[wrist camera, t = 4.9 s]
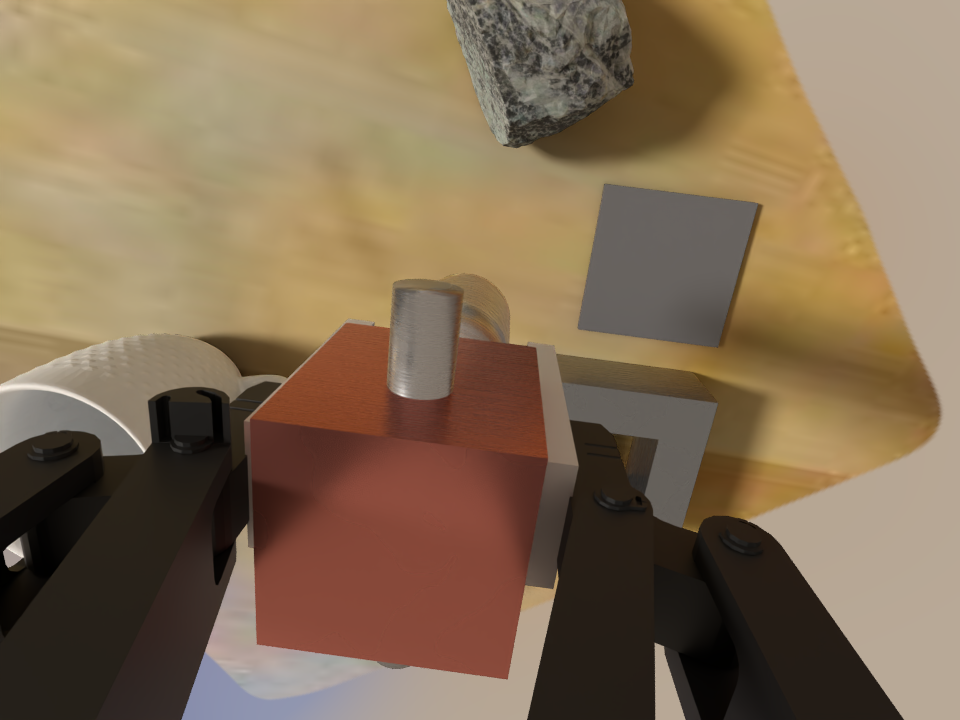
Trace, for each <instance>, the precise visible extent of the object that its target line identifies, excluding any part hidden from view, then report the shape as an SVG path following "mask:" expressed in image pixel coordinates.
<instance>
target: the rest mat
mask: <svg viewBox="0 0 960 720" xmlns="http://www.w3.org/2000/svg"><path fill="white" fill-rule="evenodd" d="M757 206H758V203H753V202H745V201H737V200H729V199H721V198H713V197H705V196H698V195H690V194H682V193H674V192H666V191H658V190H650V189H642V188H634V187H626V186H618V185H610V184H604V189H603V194H602V200H601V205H600V210H599V216H598V221H597V226H596V232H595V237H594V242H593V248H592V253H591V259H590V264H589V269H588V275H587V280H586V285H585V291H584V296H583V301H582V307H581V312H580V318H579V323H578V329H580V330H588V331H595V332H603V333H610V334H618V335H626V336H633V337H641V338H649V339H656V340H664V341H671V342H679V343H687V344H694V345H702V346H710V347H717V348H718V345H719V341H720V338H721V334H722V331H723V327H724V324H725V320H726V316H727V313H728V309H729V306H730V302H731V299H732V295H733V291H734V288H735V284H736V281H737V277H738V274H739V270H740V267H741V263H742V259H743V256H744V252H745V249H746V245H747V242H748V238H749V235H750V231H751V227H752V224H753V220H754V217H755V213H756V210H757Z"/></svg>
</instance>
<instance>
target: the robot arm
mask: <svg viewBox="0 0 960 720" xmlns="http://www.w3.org/2000/svg"><path fill="white" fill-rule="evenodd" d="M346 323H354V324H362V325H369V326H374V323H375V322H371V321H363V320H355V319H347V320H346V321H345V322H344V323H343V324H342V325H341V326H340V327H339V328H338V329H337V330H336V331H335V332H334V333H333V334H332V335H331V336H330V337H329V338H328V339H327V340H326V341H325V342H324V343H323V344H322V345H321V346H320V347H319V348H318V349H317V350H316V351H315V352H314V353H313V354H312V355H311V356H310V357H309V358H308V359H307V360H306V361H305V362H304V363H303V364H302V365H301V366H300V367H299V368H297V369H296V370H295V371H294V372H293V373H292V374H291V375H290V376H289V377H288V378H287V379H286V380H285V381H284V382H283V383H276V382H269V381H264V382H262V383H260V384H257V385H255V386H252V387H250V388H247V389H246V390H245V391H244V392H243V393H241V394H240V395H239V396H238V397H237V398H236V400H233V401H232V402H231V403H230V397H229V396H228V395H227V394H226V393H225V392H223V391H220V390H217V389H214V388H206V387H184V388H178V389H172V390H168V391H165V392H162V393H160V394H157V395H155V396H154V397H152V398H151V399H149V400H148V409H149V419H150V429H151V439H152V443H151V445H150V446H149V447H148V448H147V450H146V451H145V452H144V454H138V455H117V456H103V453H102V446H101V440H100V439H99V438H98V437H97V436H96V435H94V434H91V433H87V432H84V431H70V430H60V431H59V432H57V431H52V432H47V433H45V434H43V435H39V436H35V437H31V438H29V439H27V440H25V441H22V442H20V443H18V444H16V445H14V446H12V447H10V448H9V449H7V450H5V451H3V452H1V453H0V720H181V719H182V716H183V713H184V710H185V708H186V704H187V702H188V699H189V696H190V693H191V690H192V687H193V684H194V681H195V679H196V675H197V673H198V670H199V667H200V664H201V661H202V658H203V655H204V652H205V649H206V647H207V644H208V641H209V638H210V635H211V632H212V629H213V626H214V623H215V620H216V617H217V615H218V612H219V609H220V606H221V603H222V600H223V597H224V594H225V591H226V588H227V586H228V583H229V580H230V577H231V574H232V571H233V568H234V565H235V562H236V538H237V537H238V535H239V534H240V532H241V531H242V530H243V528H244V527H245V526H246V524H247V527H248V547H251V548H254V535H253V502H252V470H251V437H250V418H251V417H252V416H253V415H254V414H255V413H256V412H257V411H258V410H259V409H260V408H261V407H262V406H263V405H264V404H265V403H266V402H267V401H268V400H269V399H270V398H271V397H272V396H273V395H274V394H275V393H276V392H277V391H278V390H279V389H280V388H281V387H282V386H283V385H284V384H285V383H286V382H287V381H288V380H289V379H290V378H291V377H292V376H293V375H294V374H295V373H296V372H297V371H298V370H299V369H300V368H301V367H302V366H303V365H304V364H305V363H306V362H307V361H308V360H310V359H311V358H312V357H313V356H314V355H315V354H316V353H317V352H318V351H319V350H320V349H321V348H322V347H323V346H324V345H325V344H326V343H327V342H328V341H329V340H330V339H331V338H332V337H333V336H334V335H335V334H336V333H337V332H338V331H339V330H340V329H341V328H342V327H343V326H344V325H345V324H346ZM527 346H530V347H536V350H537V360H538V369H539V378H540V387H541V397H542V406H543V415H544V424H545V434H546V443H547V452H548V462H547V468H546V473H545V479H544V484H543V490H542V495H541V500H540V506H539V511H538V517H537V522H536V528H535V533H534V539H533V544H532V549H531V555H530V560H529V566H528V571H527V577H526V582H525V585H528V586H535V587H543V588H550V589H553V588H554V583H555V578H556V573H557V568H558V577H559V580H558V585H557V589H556V594H555V598H554V603H553V607H552V612H551V616H550V621H549V625H548V630H547V634H546V638H545V643H544V647H543V652H542V657H541V661H540V665H539V670H538V674H537V678H536V683H535V687H534V692H533V697H532V701H531V705H530V710H529V714H528V719H527V720H655V649H654V647H655V645H654V643H657V644H660V645H662V646H664V649H665V656H666V659H667V662H668V666H669V669H670V672H671V675H672V678H673V681H674V684H675V688H676V691H677V694H678V697H679V700H680V703H681V706H682V709H683V713H684V716H685V719H686V720H904V719H903V718H902V716H901V715H900V714H899V712H898V711H897V709H896V708H895V706H894V705H893V704H892V702H891V701H890V699H889V698H888V696H887V695H886V694H885V692H884V691H883V689H882V688H881V687H880V685H879V684H878V682H877V681H876V679H875V678H874V677H873V675H872V674H871V672H870V671H869V670H868V668H867V667H866V665H865V664H864V662H863V661H862V660H861V658H860V657H859V655H858V654H857V652H856V651H855V650H854V648H853V647H852V645H851V644H850V642H849V641H848V640H847V638H846V637H845V636H844V634H843V632H842V631H841V630H840V628H839V627H838V625H837V624H836V623H835V621H834V620H833V618H832V617H831V615H830V614H829V613H828V611H827V610H826V608H825V607H824V606H823V604H822V603H821V601H820V600H819V598H818V597H817V596H816V594H815V593H814V591H813V590H812V588H811V587H810V586H809V584H808V583H807V581H806V580H805V578H804V577H803V576H802V574H801V573H800V571H799V570H798V569H797V567H796V566H795V564H794V563H793V561H792V560H791V559H790V557H789V556H788V554H787V553H786V552H785V550H784V549H783V547H782V546H781V545H780V544H779V543H778V541H777V540H775V538H774V537H773V536H772V535H770V534H769V533H767V532H766V531H764V530H763V529H761V528H760V527H758V526H757V525H755V524H753V523H751V522H747V521H746V520H743V519H740V518H734V517H729V516H712V517H709V518H706V519H704V520H703V522H702V524H701V525H700V528H699V531H698V533H696V532H693V531H690V530H687V529H684V528H681V527H678V526H675V525H672V524H670V523H667V522H665V521H662V520H660V519H659V518H657V517H655V516H653V508H652V505H651V502H650V500H649V499H648V498H647V497H646V496H645V495H644V494H643V493H642V492H640V491H638V490H637V489H635V488H633V487H632V486H631V485H630V482H629V480H628V477H627V474H626V471H625V468H624V465H623V462H622V459H620V458H621V457H620V454H619V451H618V450H617V445H616V442H615V439H614V436H613V435H612V434H611V433H610V432H609V431H608V430H607V429H606V428H605V427H604V426H603V425H601V424H598V423H590V422H582V421H575V420H569V416H568V411H567V406H566V401H565V396H564V391H563V386H562V381H561V376H560V371H559V367H558V362H557V357H556V352H555V347H554V345H547V344H539V343H531V342H528V344H527ZM18 538H20V542H21V546H22V551H23V556H24V558H22V559H21V560H20V561H19V562H18V563H16V564H15V565H13V566H11V567H9V568H8V567H7V566H6V564H5V560H4V555H3V551H4V550H5V549H6V548H7V547H8V546H9V545H10V544H12V543H13V542H14V541H16V540H17V539H18Z"/></svg>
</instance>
